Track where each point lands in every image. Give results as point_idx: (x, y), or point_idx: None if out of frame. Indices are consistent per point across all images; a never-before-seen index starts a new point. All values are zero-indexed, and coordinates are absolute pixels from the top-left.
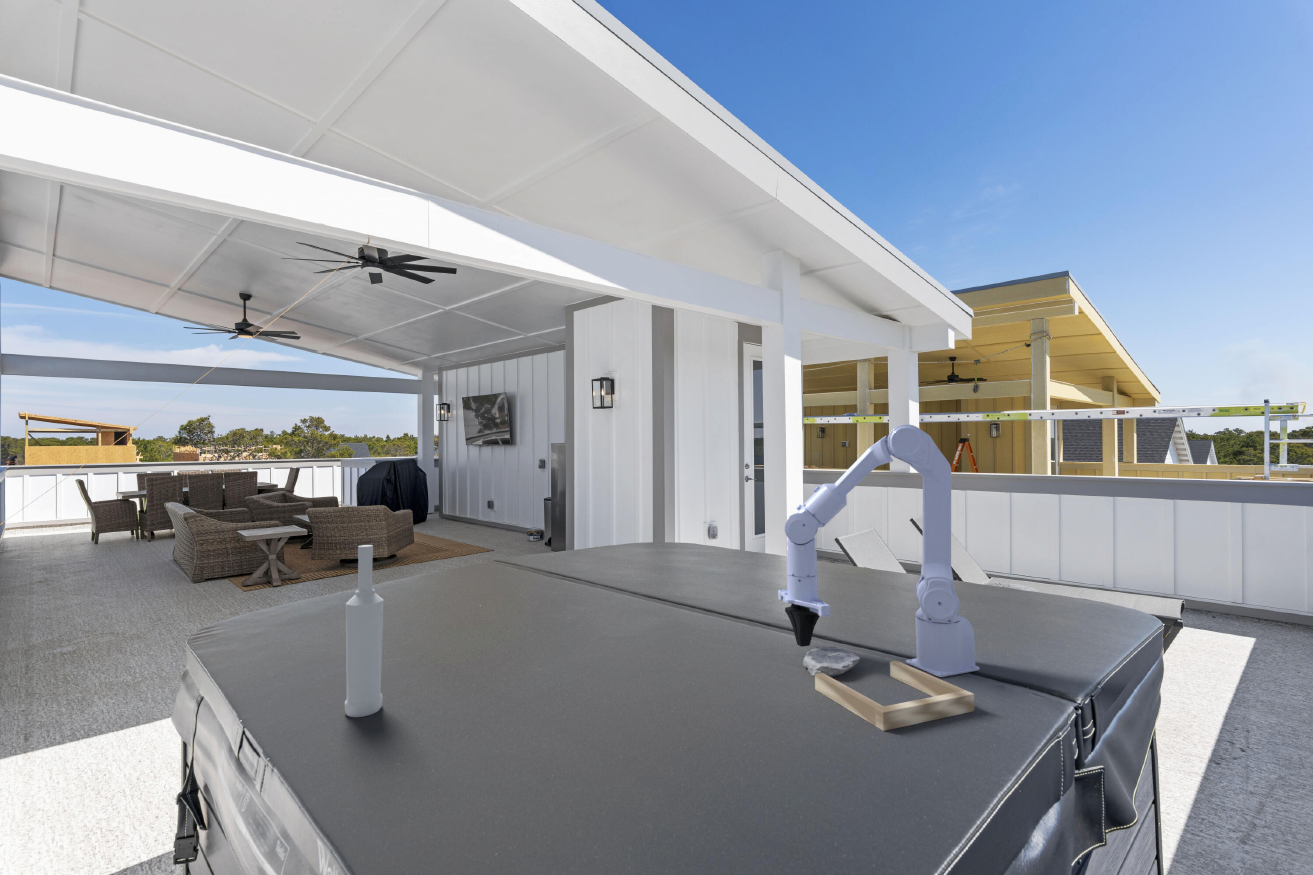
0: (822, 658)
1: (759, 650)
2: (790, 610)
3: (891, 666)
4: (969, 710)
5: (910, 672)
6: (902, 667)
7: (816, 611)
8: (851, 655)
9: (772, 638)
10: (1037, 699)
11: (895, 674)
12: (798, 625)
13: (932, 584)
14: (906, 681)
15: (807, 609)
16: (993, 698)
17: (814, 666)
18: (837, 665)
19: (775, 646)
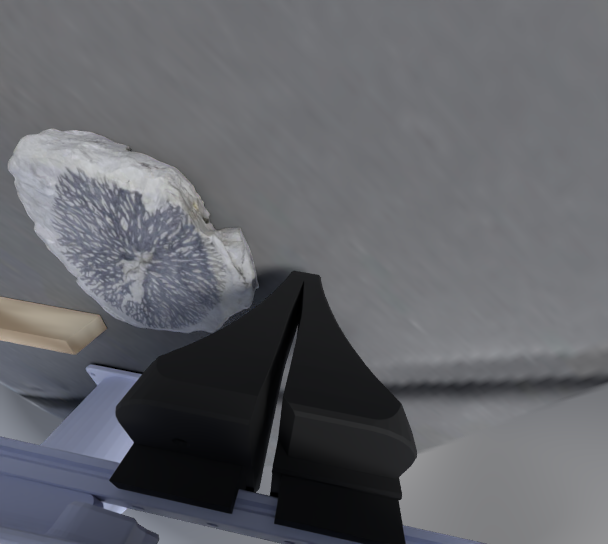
0: (116, 225)
1: (462, 141)
2: (291, 415)
3: (72, 331)
4: None
5: (8, 325)
6: (26, 332)
7: (16, 462)
8: (118, 310)
9: (510, 299)
10: (18, 379)
11: (75, 318)
12: (255, 321)
13: None
14: (50, 310)
15: (117, 471)
16: (8, 350)
17: (61, 145)
18: (44, 219)
19: (437, 246)
